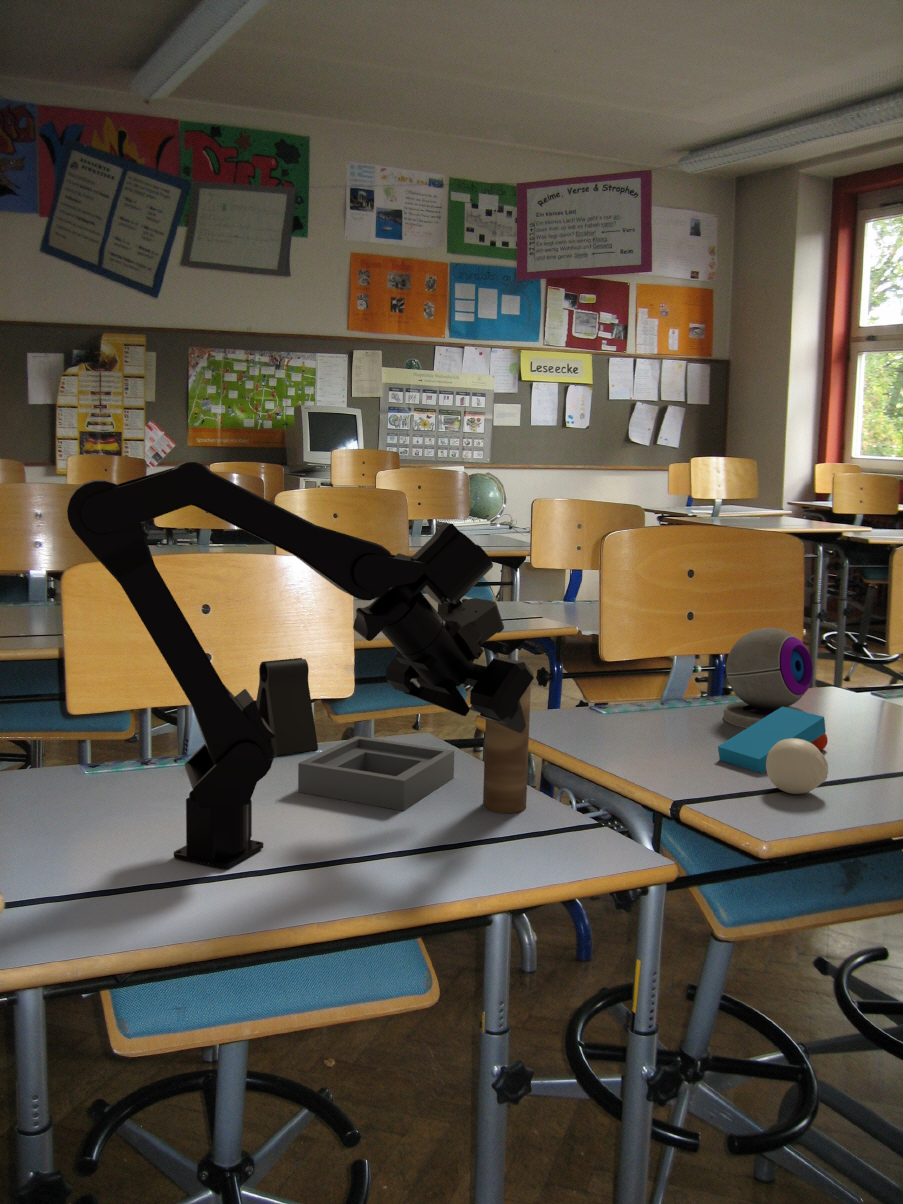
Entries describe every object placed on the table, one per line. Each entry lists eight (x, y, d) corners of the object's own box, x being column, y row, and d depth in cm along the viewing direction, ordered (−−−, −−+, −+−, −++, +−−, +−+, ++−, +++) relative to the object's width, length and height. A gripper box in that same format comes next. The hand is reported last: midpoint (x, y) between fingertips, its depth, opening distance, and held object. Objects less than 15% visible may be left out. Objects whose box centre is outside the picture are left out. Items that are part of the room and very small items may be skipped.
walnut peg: (517, 816, 114) (522, 685, 112) (476, 809, 116) (480, 680, 114) (532, 803, 119) (537, 677, 117) (492, 796, 121) (496, 672, 119)
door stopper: (318, 750, 138) (319, 664, 137) (277, 757, 135) (278, 668, 133) (288, 735, 145) (289, 652, 144) (249, 741, 142) (249, 656, 140)
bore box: (403, 810, 115) (404, 780, 115) (298, 791, 121) (298, 763, 120) (453, 777, 128) (454, 750, 127) (356, 762, 133) (356, 736, 133)
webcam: (780, 736, 152) (787, 637, 150) (706, 719, 162) (712, 626, 160) (822, 723, 161) (829, 629, 159) (750, 707, 171) (756, 619, 169)
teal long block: (764, 806, 135) (844, 751, 144) (759, 759, 133) (840, 706, 142) (723, 791, 140) (802, 740, 150) (717, 746, 138) (798, 696, 148)
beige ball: (819, 805, 121) (823, 751, 120) (757, 793, 125) (761, 740, 124) (832, 791, 127) (836, 739, 126) (773, 780, 130) (776, 729, 130)
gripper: (523, 585, 102) (592, 679, 111) (407, 568, 116) (476, 653, 125) (463, 671, 98) (539, 762, 107) (350, 643, 112) (426, 725, 121)
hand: (494, 720), depth 115 cm, fingers open, 9 cm apart
